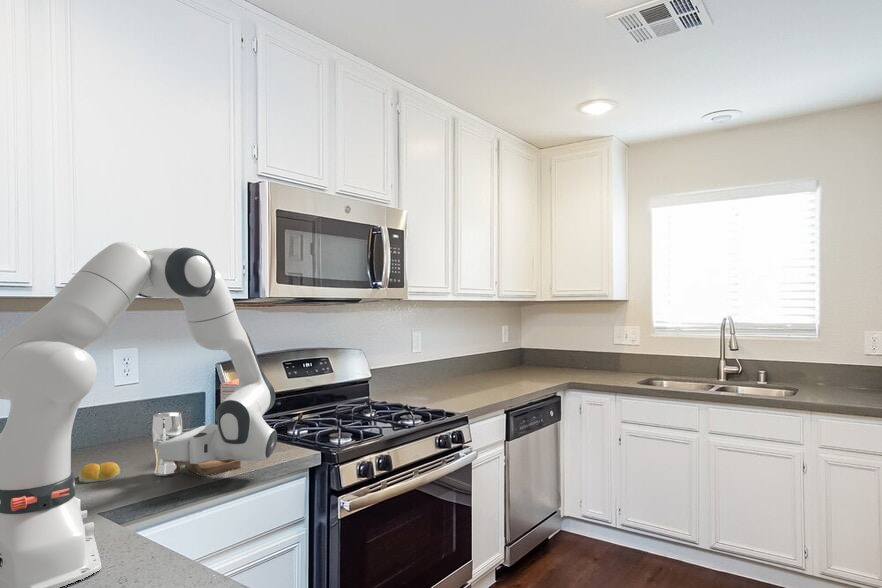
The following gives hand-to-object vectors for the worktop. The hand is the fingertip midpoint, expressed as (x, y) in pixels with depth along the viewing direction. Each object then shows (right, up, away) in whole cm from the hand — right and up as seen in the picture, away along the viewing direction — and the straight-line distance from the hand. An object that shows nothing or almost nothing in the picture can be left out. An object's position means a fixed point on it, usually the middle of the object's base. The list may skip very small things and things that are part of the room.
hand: (164, 440), depth 146 cm
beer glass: (+1, -8, 0) cm, 9 cm away
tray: (+11, -9, +5) cm, 15 cm away
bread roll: (-16, -9, -3) cm, 18 cm away
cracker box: (+12, -9, +23) cm, 27 cm away
